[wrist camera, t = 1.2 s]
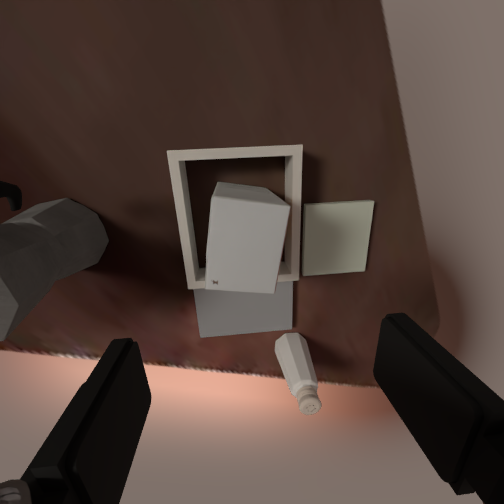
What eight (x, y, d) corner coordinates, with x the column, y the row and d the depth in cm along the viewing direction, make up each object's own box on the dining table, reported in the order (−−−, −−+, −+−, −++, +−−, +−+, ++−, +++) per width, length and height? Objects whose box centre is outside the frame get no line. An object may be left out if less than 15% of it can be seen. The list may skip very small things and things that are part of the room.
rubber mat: (303, 203, 32) (306, 205, 31) (370, 199, 33) (374, 201, 32) (301, 272, 36) (303, 276, 35) (361, 268, 37) (364, 271, 36)
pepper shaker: (269, 338, 40) (283, 401, 29) (300, 326, 39) (326, 386, 29) (280, 362, 42) (296, 429, 31) (310, 350, 41) (337, 414, 31)
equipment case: (174, 151, 29) (166, 150, 25) (293, 146, 30) (302, 144, 26) (201, 333, 38) (198, 352, 34) (290, 324, 39) (297, 342, 35)
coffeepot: (110, 285, 34) (-5, 409, 17) (34, 275, 33) (-171, 401, 16) (111, 169, 29) (-51, 187, 12) (20, 152, 27) (-305, 144, 11)
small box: (258, 246, 34) (275, 296, 22) (212, 242, 33) (202, 291, 21) (267, 186, 31) (292, 205, 19) (217, 179, 30) (209, 195, 18)
